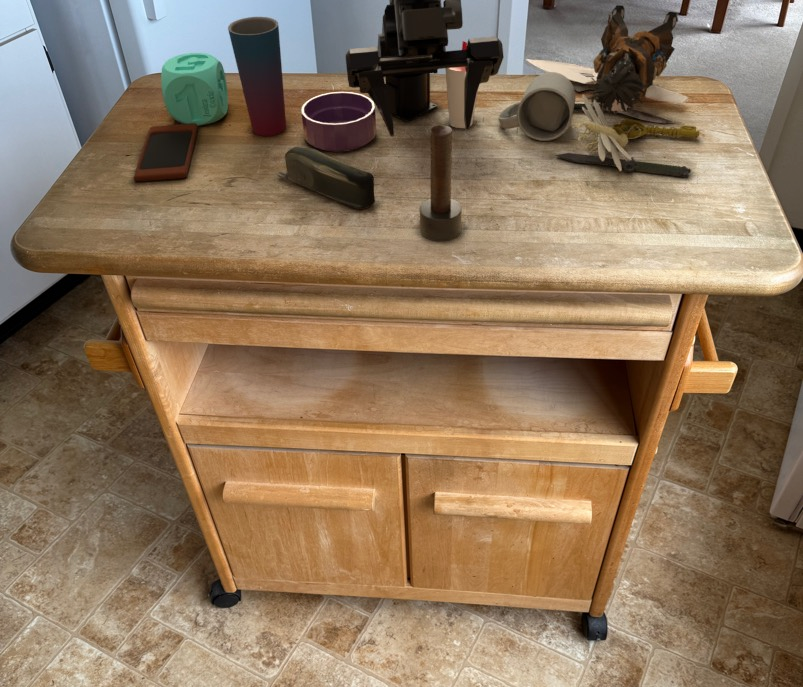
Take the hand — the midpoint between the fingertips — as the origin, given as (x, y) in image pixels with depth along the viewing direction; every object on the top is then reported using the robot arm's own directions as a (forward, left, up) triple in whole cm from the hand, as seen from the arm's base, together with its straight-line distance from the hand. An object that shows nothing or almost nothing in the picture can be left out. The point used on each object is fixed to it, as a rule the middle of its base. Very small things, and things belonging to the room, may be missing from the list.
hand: (430, 132), depth 92 cm
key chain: (-40, -1, -8) cm, 41 cm away
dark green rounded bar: (+9, -10, -9) cm, 16 cm away
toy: (-23, +8, -9) cm, 26 cm away
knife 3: (-24, +12, -8) cm, 28 cm away
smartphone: (+14, -40, -8) cm, 44 cm away
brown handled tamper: (+5, +7, -9) cm, 12 cm away
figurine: (-51, -4, -3) cm, 51 cm away
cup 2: (-17, -11, -9) cm, 22 cm away
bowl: (-2, -21, -9) cm, 23 cm away
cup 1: (+4, -30, -9) cm, 32 cm away
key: (-33, +11, -9) cm, 36 cm away
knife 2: (-32, +4, -8) cm, 33 cm away
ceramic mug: (-23, -2, -9) cm, 25 cm away
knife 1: (-41, -4, -8) cm, 42 cm away
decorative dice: (+9, -42, -9) cm, 43 cm away
